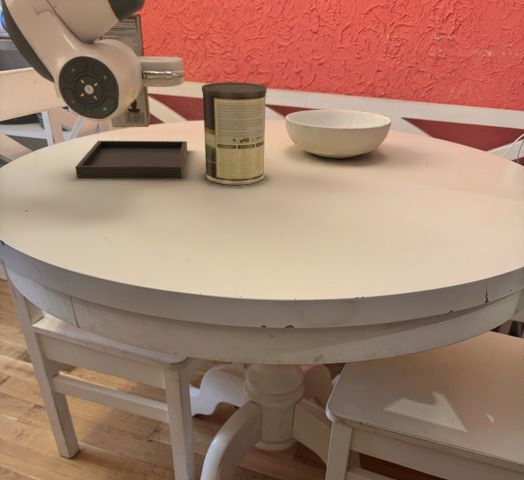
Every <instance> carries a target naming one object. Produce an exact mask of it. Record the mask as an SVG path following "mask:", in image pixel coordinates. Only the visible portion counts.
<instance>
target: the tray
mask: <svg viewBox="0 0 524 480" xmlns="http://www.w3.org/2000/svg"><path fill="white" fill-rule="evenodd" d="M187 154H188V141H186V140H97V142H95V144H94V145H93V146H92V147H91V149H90V150H89V151H88V152H87V153H86V154H85V155H84V156H83V158H82V159H81V160H80V161H79V162H78V163H77V164H76V166H75V172H76V178H77V179H128V178H129V179H182V178H183V173H184V169H185V163H186V160H187V159H186V158H187Z"/></svg>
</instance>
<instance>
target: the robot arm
mask: <svg viewBox="0 0 524 480" xmlns="http://www.w3.org/2000/svg"><path fill="white" fill-rule="evenodd" d="M0 2H1V11H2V17H3V21H4V27H5V30H6V33H7V34H8V37H9V39H10V40H11V42H12V43H13V45H14V46H15V48H16V49H17V51H18V52H19V53H20V55H21V56H22V57H23V58H24V60H25V61H26V62H27V63H28V65H30V67H31V68H32V69H33V70H34V71H35V72H36V73H37V74H38V75H39V76H41V78H43V79H45V80H47V81H49V82H50V83H52V85H53V88H54V91H55V95H56V97H57V98H59V99H61V100H62V101H63V103H64V105H66V107H67V108H68V109H69V110H71V112H73V113H74V114H76V115H77V116H79V117H81V118H83V119H85V120H88V121H92V122H106V121H111V119H113V118H115V117H117V116H119V115H120V114H122V113H123V112H124V111H125V110H126V109H127V108H128V107H129V106H130V104H131V103H132V102H133V101H134V100H135V99H136V98H137V97H138V95H139V94H140V92H141V90H142V87H147V88H172V87H178V86H180V85H182V84H183V83H184V82H185V67H184V66H185V63H184V59H183V58H182V57H179V56H154V55H153V56H151V55H150V56H148V55H146V56H145V55H144V56H137V55H136V54H135V53H134V51H133V50H132V49H131V48H130V47H128V46H127V45H126V44H124V43H122V42H120V41H117V40H113V39H103V40H100V37H101V36H102V35H103V34H104V33H106V32H107V31H108V30H109V29H111V28H112V27H113V26H114V25H116V24H117V23H118V22H119V21H120V22H122V21H123V20H125V19H126V18H128V17H130V16H131V15H133V14H137V13H138V12H139V11H140V10H142V9H144V6H145V2H146V0H1V1H0ZM98 39H99V40H98Z"/></svg>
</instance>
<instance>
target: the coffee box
mask: <svg viewBox="0 0 524 480" xmlns="http://www.w3.org/2000/svg"><path fill="white" fill-rule="evenodd" d="M103 39H113V40H117V41H120V42H122V43H124V44H126V45H127V46H128V47H130V48H131V49H132V50H133V51H134V53H135V54H136V55H137V56H145V50H144V49H145V48H144V41H143V40H144V39H143V30H142V19H141V14H140V13H134V14H133V15H131V16H130V17H128V18H126V19H125V20H123V21H122V22H120V21H119V22H118V23H117V24H116V25H114V26H113V27H112V28H111V29H109V30H108V31H107V32H106V33H104V34H103V35H102V36H101V37H99V41H100V40H103ZM149 100H150V99H149V89H148V87H142V90H141V92H140V94H139V95H138V97H137V98H136V99H135V100H134V101H133V102H132V103H131V104H130V106H129V107H128V108H127V109H126V110H125V111H124V112H123V113H122V114H120V115H119V116H117V117H115V118H113V119H110V121H111V127H112V128H149V127H150V121H151V111H150V101H149Z"/></svg>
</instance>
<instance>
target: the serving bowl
mask: <svg viewBox="0 0 524 480" xmlns="http://www.w3.org/2000/svg"><path fill="white" fill-rule="evenodd" d="M284 118H285V127H286V132H287V135H288V137H289V138H290V140H291V142H292V143H293V145H295V146H296V147H297V148H299V149H301V150H303V151H304V152H307V153H310V154H313V155H315V156H318V157H321V158H326V159H350V158H353V157H357V156H360V155H365V154H367V153H370V152H372V151H374V150H376V149H377V148H379V147H380V146H381V145H382V144H383V143H384V141H385V140H386V138H387V136H388V134H389V132H390V129H391V125H392V119H391V118H390V117H389V116H386V115H383V114H379V113H376V112H370V111H364V110H363V111H361V110H355V109H354V110H352V109H310V110H301V111H300V110H299V111H296V112H291V113H288V114H287V115H285V117H284Z"/></svg>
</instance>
